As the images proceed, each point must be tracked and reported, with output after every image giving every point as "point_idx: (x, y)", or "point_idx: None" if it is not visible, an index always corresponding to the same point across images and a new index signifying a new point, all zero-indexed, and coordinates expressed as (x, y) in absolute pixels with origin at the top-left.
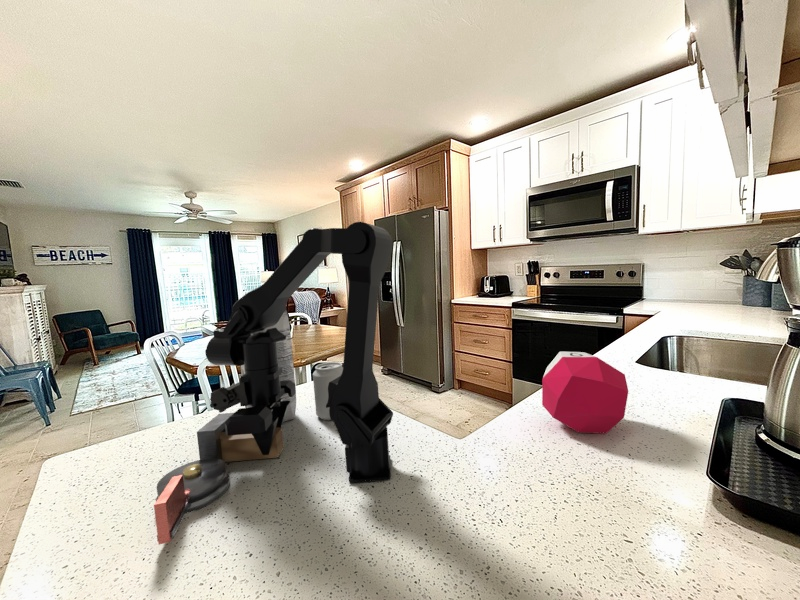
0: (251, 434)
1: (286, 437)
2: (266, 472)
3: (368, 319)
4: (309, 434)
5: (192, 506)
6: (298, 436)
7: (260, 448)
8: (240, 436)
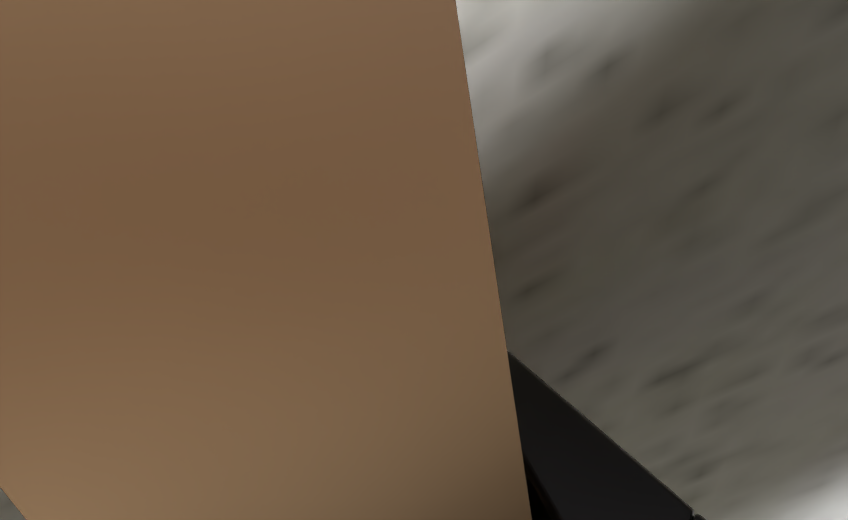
0: (205, 440)
1: (765, 322)
2: (7, 503)
3: None
4: (767, 503)
5: None
6: (752, 431)
7: None
8: (2, 220)
